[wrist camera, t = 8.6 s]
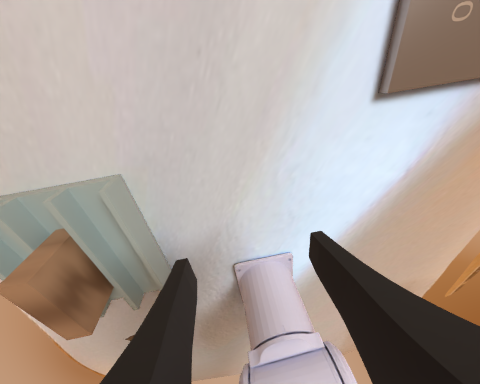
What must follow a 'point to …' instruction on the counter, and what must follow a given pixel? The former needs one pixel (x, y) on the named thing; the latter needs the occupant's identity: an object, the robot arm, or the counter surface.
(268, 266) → the robot arm
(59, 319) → the tan wooden slab
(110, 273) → the notched rack
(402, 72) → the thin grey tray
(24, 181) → the counter surface
